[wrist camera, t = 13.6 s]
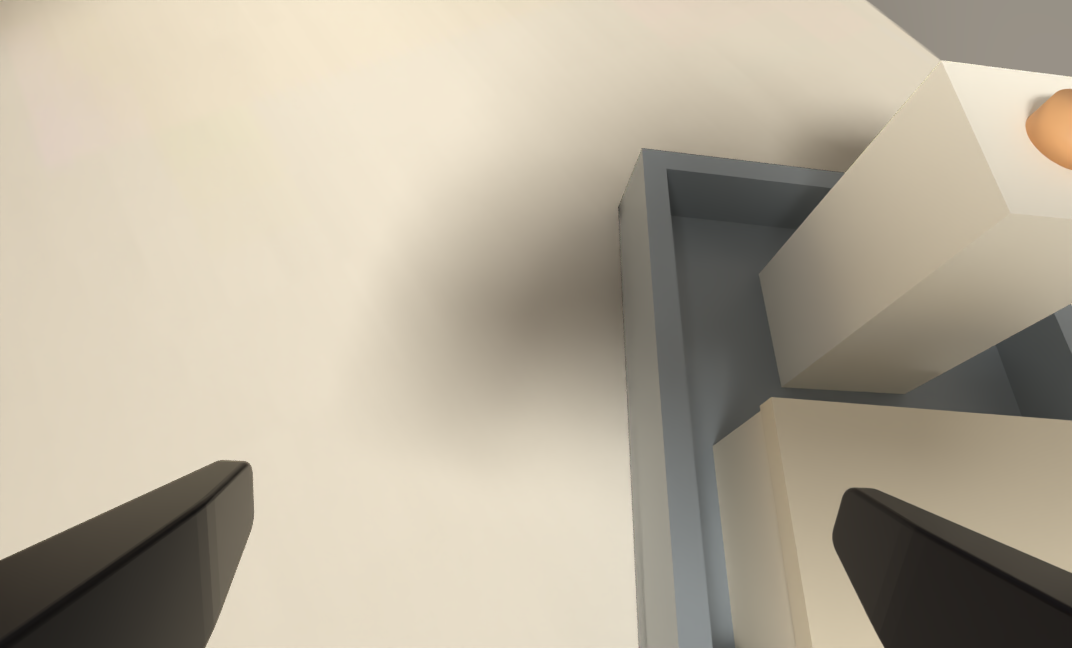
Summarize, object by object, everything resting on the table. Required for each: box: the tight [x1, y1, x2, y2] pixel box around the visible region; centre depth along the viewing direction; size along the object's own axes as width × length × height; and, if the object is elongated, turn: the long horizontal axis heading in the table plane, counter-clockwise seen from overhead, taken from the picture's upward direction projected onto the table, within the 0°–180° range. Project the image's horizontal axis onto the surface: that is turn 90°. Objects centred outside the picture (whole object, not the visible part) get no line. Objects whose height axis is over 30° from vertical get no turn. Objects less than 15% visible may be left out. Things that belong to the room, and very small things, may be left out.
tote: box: [618, 148, 1072, 648], centre depth 24 cm, size 22×18×4 cm
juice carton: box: [759, 60, 1072, 394], centre depth 21 cm, size 6×6×12 cm
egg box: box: [713, 397, 1072, 648], centre depth 20 cm, size 8×12×5 cm
